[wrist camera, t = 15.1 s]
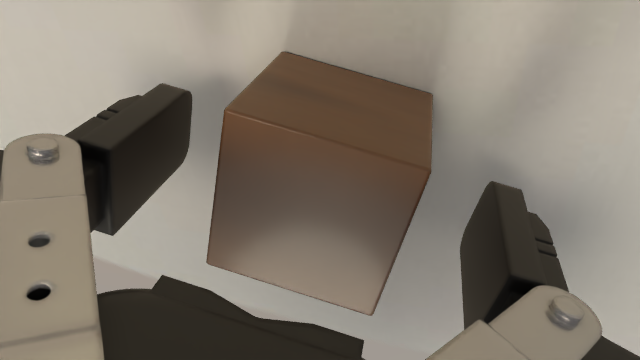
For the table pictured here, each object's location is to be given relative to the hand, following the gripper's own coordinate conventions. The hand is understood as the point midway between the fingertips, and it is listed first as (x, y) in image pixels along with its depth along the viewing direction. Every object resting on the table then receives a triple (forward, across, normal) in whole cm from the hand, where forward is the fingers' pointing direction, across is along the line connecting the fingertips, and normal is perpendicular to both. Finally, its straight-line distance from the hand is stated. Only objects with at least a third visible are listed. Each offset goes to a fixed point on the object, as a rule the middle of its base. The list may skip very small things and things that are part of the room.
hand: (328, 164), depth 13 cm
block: (+2, 0, 0) cm, 2 cm away
